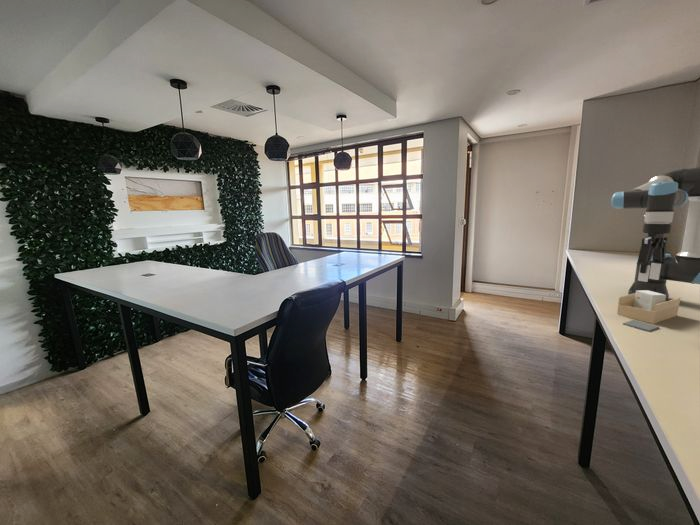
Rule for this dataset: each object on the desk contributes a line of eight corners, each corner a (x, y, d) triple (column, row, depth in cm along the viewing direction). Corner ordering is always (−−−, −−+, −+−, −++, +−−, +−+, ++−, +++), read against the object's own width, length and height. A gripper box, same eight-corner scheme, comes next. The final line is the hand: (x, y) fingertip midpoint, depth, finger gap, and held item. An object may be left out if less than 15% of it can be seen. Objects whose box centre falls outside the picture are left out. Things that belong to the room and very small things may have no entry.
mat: (633, 321, 122) (633, 320, 122) (659, 328, 114) (659, 326, 114) (622, 324, 119) (622, 323, 118) (648, 331, 111) (649, 330, 111)
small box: (663, 318, 124) (667, 294, 122) (649, 318, 124) (653, 295, 122) (644, 312, 132) (648, 289, 130) (632, 312, 132) (635, 290, 130)
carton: (640, 307, 138) (643, 291, 136) (677, 315, 127) (680, 297, 125) (616, 314, 130) (619, 297, 128) (653, 324, 118) (656, 304, 117)
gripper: (657, 222, 120) (648, 276, 124) (630, 223, 112) (622, 280, 116) (683, 223, 114) (673, 279, 117) (657, 223, 105) (647, 284, 109)
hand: (648, 280), depth 117 cm, fingers open, 8 cm apart
